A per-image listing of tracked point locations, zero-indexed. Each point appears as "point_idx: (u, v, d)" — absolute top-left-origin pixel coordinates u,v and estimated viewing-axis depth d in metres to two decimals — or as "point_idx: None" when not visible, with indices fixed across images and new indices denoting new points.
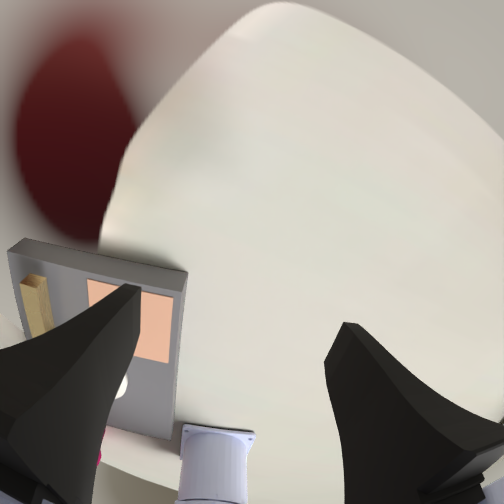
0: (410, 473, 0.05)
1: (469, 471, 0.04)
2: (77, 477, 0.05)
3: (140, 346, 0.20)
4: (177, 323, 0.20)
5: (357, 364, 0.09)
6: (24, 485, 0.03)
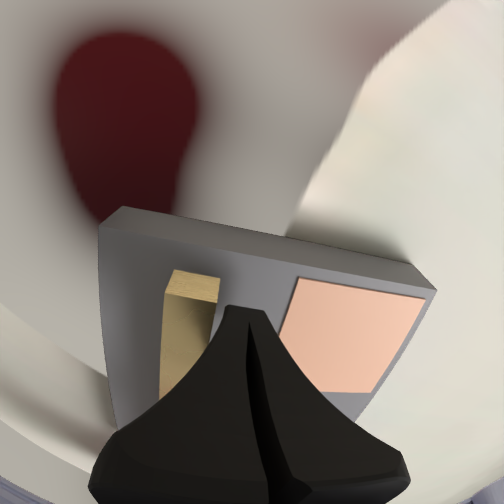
0: None
1: None
2: None
3: (344, 376, 0.13)
4: (411, 335, 0.13)
5: (247, 353, 0.08)
6: None
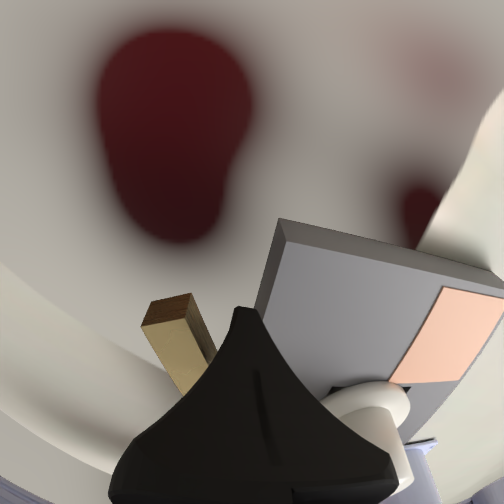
0: None
1: None
2: None
3: (447, 367, 0.14)
4: (495, 329, 0.13)
5: None
6: None
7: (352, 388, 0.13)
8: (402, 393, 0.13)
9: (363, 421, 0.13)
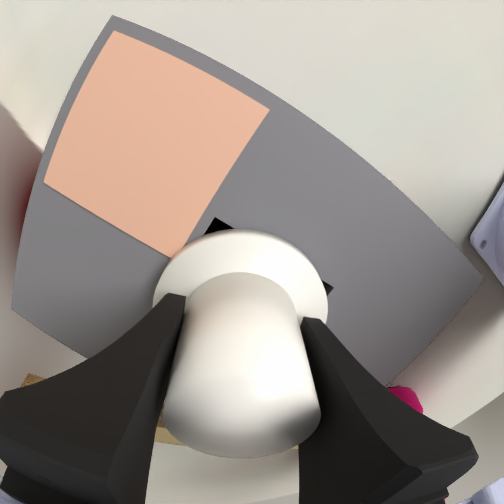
0: (355, 483, 0.05)
1: (423, 487, 0.04)
2: (138, 496, 0.05)
3: (200, 146, 0.09)
4: (170, 40, 0.08)
5: (313, 361, 0.09)
6: None
7: None
8: (187, 250, 0.10)
9: None
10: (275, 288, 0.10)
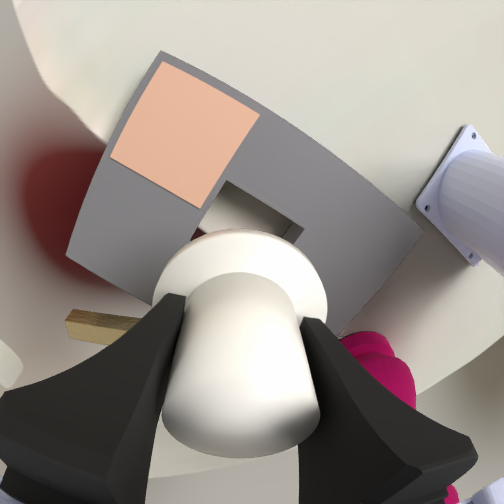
0: (354, 483, 0.05)
1: (422, 487, 0.04)
2: (138, 496, 0.05)
3: (218, 136, 0.15)
4: (199, 70, 0.14)
5: (312, 360, 0.09)
6: None
7: None
8: (186, 250, 0.10)
9: None
10: (274, 288, 0.10)
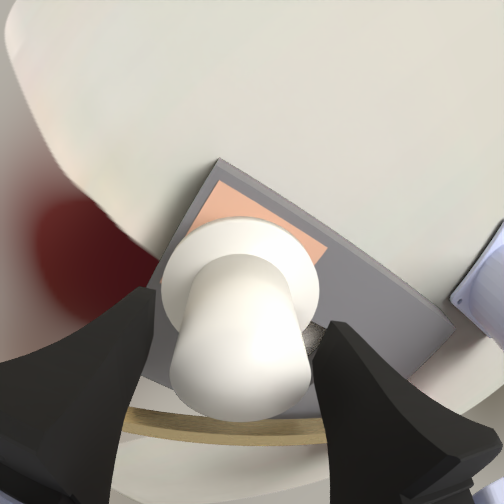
0: (393, 477, 0.05)
1: (455, 476, 0.04)
2: (97, 484, 0.05)
3: None
4: (263, 196, 0.13)
5: (343, 363, 0.09)
6: (47, 497, 0.03)
7: None
8: (191, 235, 0.11)
9: None
10: (269, 266, 0.11)
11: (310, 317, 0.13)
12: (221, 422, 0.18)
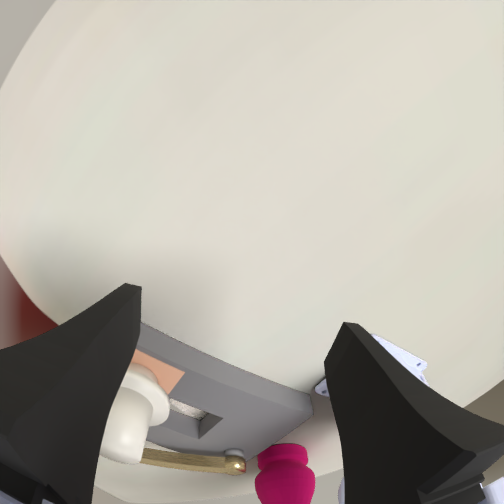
0: (410, 473, 0.05)
1: (469, 471, 0.04)
2: (77, 477, 0.05)
3: (161, 381, 0.22)
4: (140, 346, 0.21)
5: (357, 364, 0.09)
6: (24, 485, 0.03)
7: None
8: None
9: None
10: (134, 395, 0.18)
11: (167, 415, 0.20)
12: (148, 451, 0.25)
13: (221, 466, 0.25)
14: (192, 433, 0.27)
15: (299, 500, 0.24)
